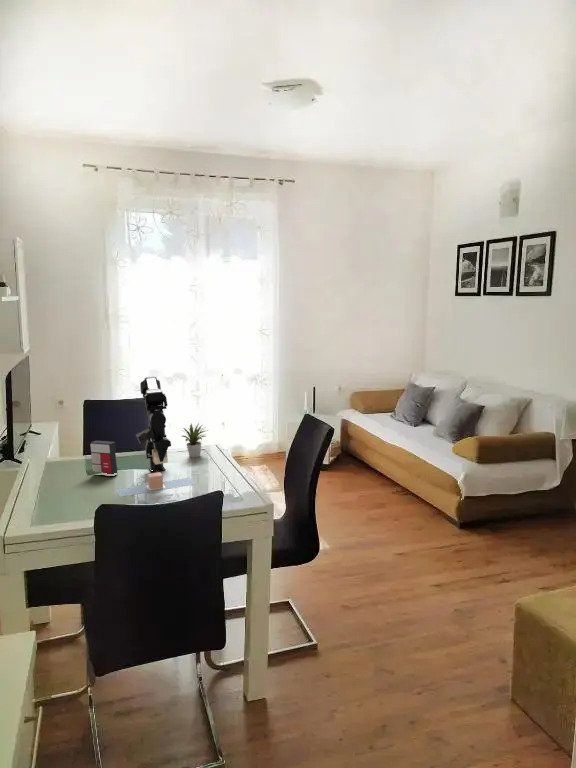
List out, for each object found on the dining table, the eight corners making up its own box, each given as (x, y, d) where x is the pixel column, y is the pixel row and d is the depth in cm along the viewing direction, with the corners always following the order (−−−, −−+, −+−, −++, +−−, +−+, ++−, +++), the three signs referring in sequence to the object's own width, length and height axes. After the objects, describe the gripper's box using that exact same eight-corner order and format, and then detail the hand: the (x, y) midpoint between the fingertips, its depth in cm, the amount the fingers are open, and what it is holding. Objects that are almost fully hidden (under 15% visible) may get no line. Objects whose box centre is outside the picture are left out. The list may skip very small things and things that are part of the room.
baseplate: (116, 491, 236) (116, 489, 235) (189, 479, 247) (189, 477, 247) (119, 498, 226) (119, 496, 226) (195, 486, 237) (195, 484, 237)
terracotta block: (148, 485, 238) (147, 474, 237) (160, 483, 240) (159, 472, 239) (150, 489, 233) (149, 477, 232) (163, 487, 235) (162, 475, 234)
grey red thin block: (92, 475, 258) (88, 442, 255) (98, 472, 262) (95, 440, 259) (112, 477, 254) (109, 444, 251) (118, 474, 258) (115, 441, 255)
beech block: (152, 461, 237) (151, 449, 236) (165, 459, 239) (164, 447, 238) (155, 464, 232) (154, 452, 232) (167, 462, 234) (166, 450, 234)
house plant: (200, 461, 272) (197, 427, 269) (174, 460, 276) (171, 426, 274) (214, 453, 285) (212, 420, 282) (189, 452, 290) (187, 419, 287)
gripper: (132, 420, 238) (135, 457, 241) (140, 429, 221) (144, 469, 224) (159, 417, 243) (162, 453, 245) (169, 425, 226) (172, 464, 228)
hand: (160, 460), depth 236 cm, fingers closed on beech block, 5 cm apart
